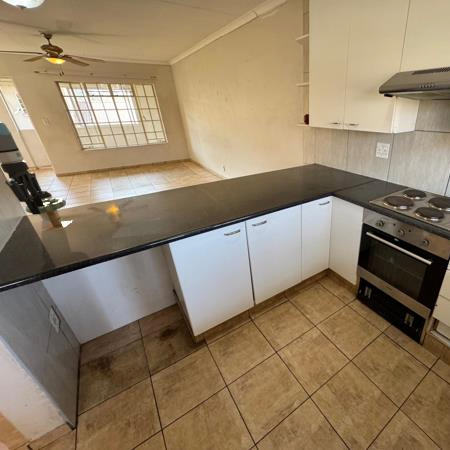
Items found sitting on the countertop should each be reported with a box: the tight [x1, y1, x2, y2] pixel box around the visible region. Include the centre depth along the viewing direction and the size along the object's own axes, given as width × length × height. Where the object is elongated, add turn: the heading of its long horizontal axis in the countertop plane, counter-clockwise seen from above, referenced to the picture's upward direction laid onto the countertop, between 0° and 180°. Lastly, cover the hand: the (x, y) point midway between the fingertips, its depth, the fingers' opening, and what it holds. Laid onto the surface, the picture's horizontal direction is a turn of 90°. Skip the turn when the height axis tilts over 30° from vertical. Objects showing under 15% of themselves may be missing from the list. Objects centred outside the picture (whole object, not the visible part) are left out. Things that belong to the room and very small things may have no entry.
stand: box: [40, 202, 73, 232], centre depth 121 cm, size 9×9×14 cm
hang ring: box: [25, 197, 67, 214], centre depth 118 cm, size 14×14×3 cm
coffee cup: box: [29, 190, 60, 222], centre depth 131 cm, size 9×9×15 cm
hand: (39, 212), depth 114 cm, fingers closed on hang ring, 3 cm apart
